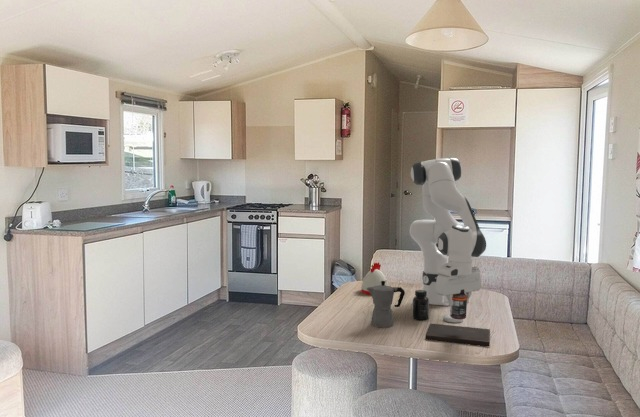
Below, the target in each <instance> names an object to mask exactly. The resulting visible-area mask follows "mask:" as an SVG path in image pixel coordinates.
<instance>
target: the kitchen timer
mask: <svg viewBox="0 0 640 417" xmlns="http://www.w3.org/2000/svg"><path fill="white" fill-rule="evenodd" d="M381 267H382V265H381V264H380V262H374V263H373V265H371V268H370V270H369V271H368V272H367V273H366V275H364V277H363V278H362V284H361V291H362V292H361V293H362V294H364V293H365V295H370V296H371V294H370V292H369V291H368V290H367V288H368V287H374V286H378V285H382V283H381V281H385V285H386V286H389V280H388V279H387V277H386V276H385V274H384V273H383V272H382V271H381Z"/></svg>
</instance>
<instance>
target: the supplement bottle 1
mask: <svg viewBox="0 0 640 417" xmlns="http://www.w3.org/2000/svg"><path fill="white" fill-rule="evenodd" d="M426 296H427V291H425V290H422V289H417V290H415V291H414V297H412V319H413V320H415V321H419V322H423V321H428V320H429V319H430V318H429V316H430V304H429V299H428V298H427V297H426Z"/></svg>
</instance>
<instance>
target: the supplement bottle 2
mask: <svg viewBox="0 0 640 417" xmlns="http://www.w3.org/2000/svg"><path fill="white" fill-rule="evenodd" d="M452 300H453V301H455V303H454V304H455V305H454V306H450V310H449V315H450V316H451V318H453V319H463V320H465V319H466V318H467V307H468V303H467V295H466V294H465V293H464V289H463V290H461V292H460V293H459V294H453V297H452Z"/></svg>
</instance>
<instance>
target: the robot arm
mask: <svg viewBox="0 0 640 417" xmlns="http://www.w3.org/2000/svg"><path fill="white" fill-rule="evenodd" d="M462 174H463V167H462V163H461V162H460V160H459V159H458V158H455V157H449V158H435V159H429V160H425V161H424V160H423V161H417V162H414V163H413V164H412V165H411V170H410V177H411V180H412V181H413V184H415V185H416V186H421V187H422V188H421V190H422V209H423V210H424V212H426V214H428V215H430V216H431V217H432V218H433V219H418V220H414V221H413V222H412V223H411V224H410V226H409V236H410V238H411V239H412V240H413V241H415V243H416V244H417V245H418V247H420V250H421V252H422V256H423V257H422V258H423V270H422V276H421V277H422V278H421V279H422V286H421V290H425V291H427V296H426V297H427V298H428V299H429V305H436V306H447V307H448V306H450V307H451V306H454V305H455V304H454V303H455V301H453V300H452V297H453V294H459V293H460V292H461V290H463V289H464V293H465V294H466V295H467V304H469V303H470V302H469V301H470V298H471V296H472V292H478V291H481V289H482V278H481V269H479V267H478V266H473V259H472V257H474V258H478V257H480V256H481V255H483V253H484V252H485V251H486V249H487V240H486V237H485V235H484V234H483V232H482V231H481V229H480V226H479V224H478V222H477V219H476V216H475V214H474V212H473V208H472V206H471V204H470V202H469V200H468V199H467V198H468V197H467V198H466V197H465V196H464V195H463V194H461V192H460V190H459V189H458V188H457V185H456V182H457V181H459V180H460V179H461V177H462ZM451 212H453V213H455V214H457V215H458V216H459V217H460V218H461V220H462V222H463V223H462V224H461V223H460V222H459V221H458V220H457V219H455V218H454V216H453V214H452V213H451Z"/></svg>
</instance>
